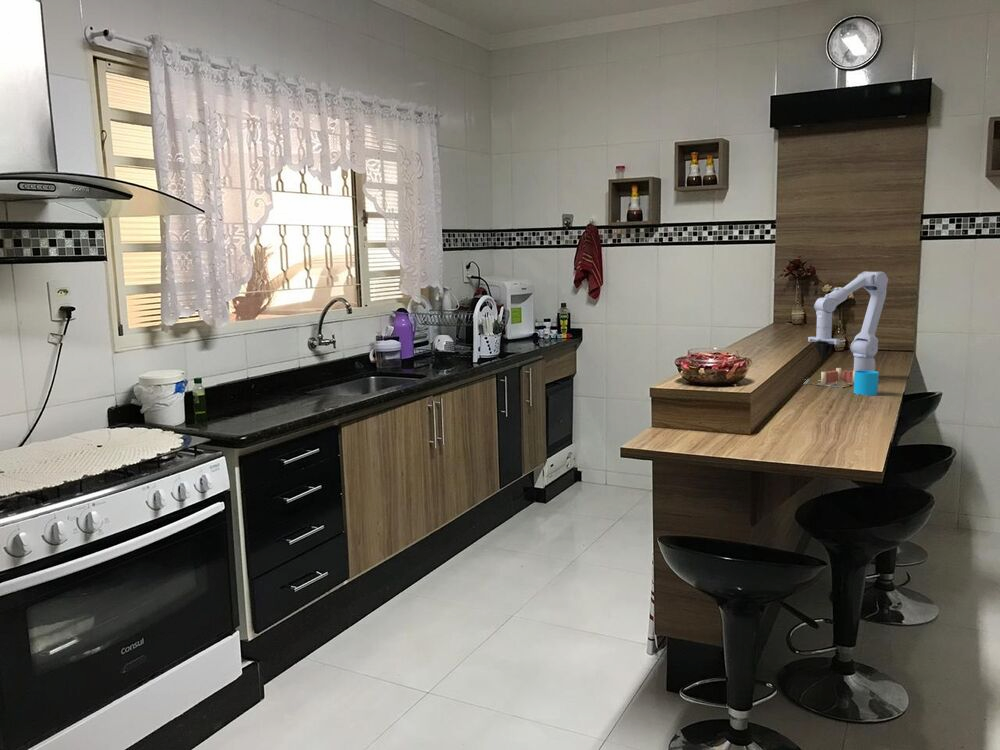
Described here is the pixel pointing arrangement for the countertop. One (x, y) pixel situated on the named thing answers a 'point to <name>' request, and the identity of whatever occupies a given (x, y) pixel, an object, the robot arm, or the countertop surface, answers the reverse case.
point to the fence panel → (829, 377)
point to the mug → (866, 382)
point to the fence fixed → (846, 375)
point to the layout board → (828, 383)
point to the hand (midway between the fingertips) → (822, 360)
